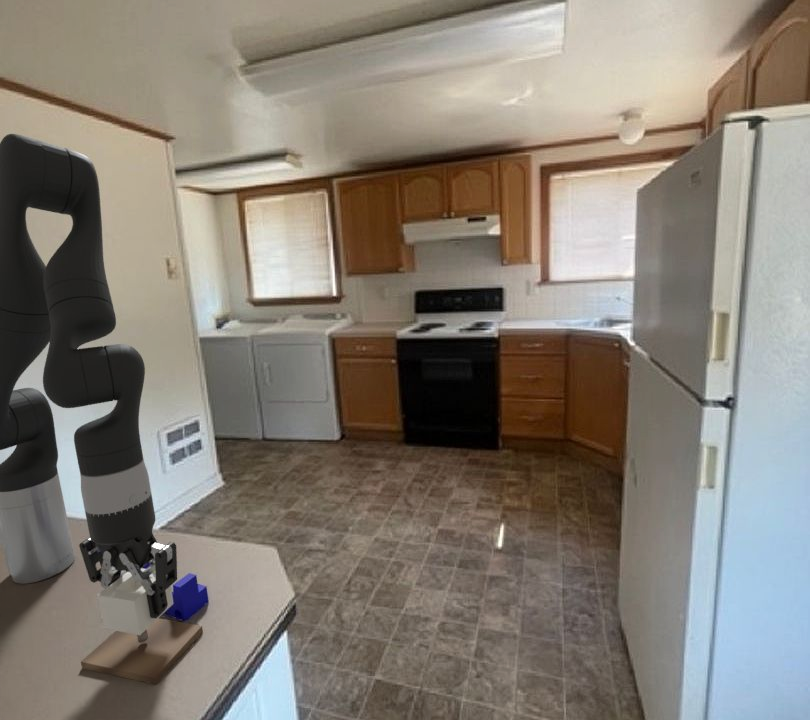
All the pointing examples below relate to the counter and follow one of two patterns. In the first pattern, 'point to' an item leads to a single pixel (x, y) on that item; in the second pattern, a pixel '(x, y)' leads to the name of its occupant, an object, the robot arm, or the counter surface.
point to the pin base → (143, 651)
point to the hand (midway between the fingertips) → (138, 610)
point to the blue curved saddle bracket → (186, 597)
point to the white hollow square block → (127, 605)
